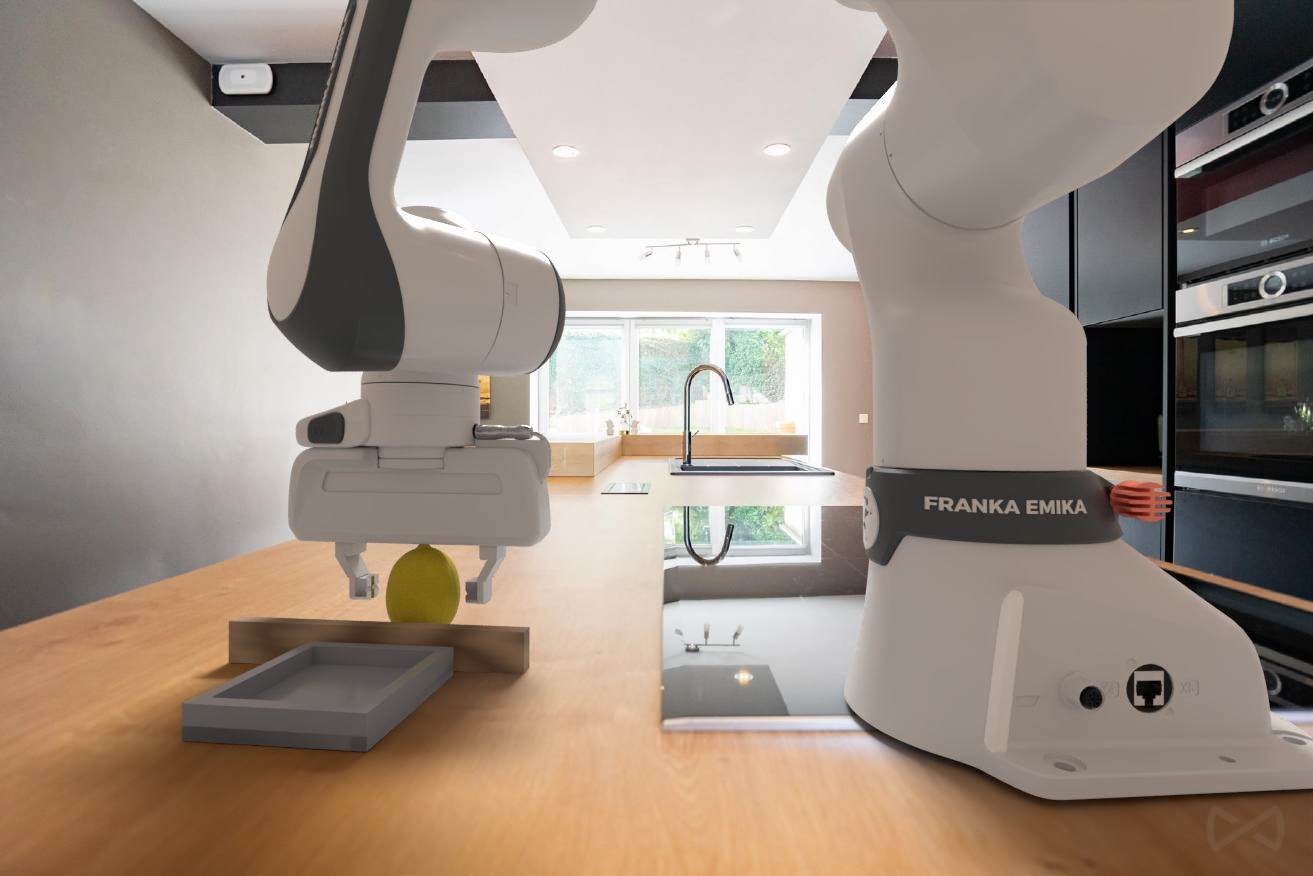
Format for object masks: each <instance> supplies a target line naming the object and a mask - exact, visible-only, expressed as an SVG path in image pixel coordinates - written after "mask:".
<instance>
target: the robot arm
mask: <svg viewBox="0 0 1313 876" xmlns="http://www.w3.org/2000/svg"><path fill="white" fill-rule="evenodd" d="M834 1H835V2H837V3H838V4H840V5H841V6H843V7H846V8H849V9H852V10H856V11H861V12H862V11H863V12H867V13H876V14H877V16H878V17H879V18H880V19H881V22H882V23H883V25H884V26H885V27H886V29H887V31H888V33H889V35H890V38H891V40H892V42H893V45H894V48H895V52H896V55H897V64H898V65H897V66H898V68H897V79H896V81H895V82H894V84H893V85H892V86H891V87H890V88H889V89H888V90H887V92H885V94H883V96H882V97H881V98H880V99H879V100H878V101H877V102H876V104H875V105H874V106H872V108H871V109H870V111H868V113H867V114H865V116H864V117H863V118H862V120H860V121H859V123H857V125H856V126H855V128H854V129H853V131H852V132H851V133H850V135H849V137H848V138H847V141H846V143H845V145H844V147H843V149H842V150H841V152H840V155H839V157H838V159H837V162H836V164H835V165H834V169H833V171H832V173H831V176H830V179H829V181H828V184H827V188H826V189H827V190H826V195H825V196H826V197H825V198H826V199H825V201H826V203H825V205H826V212H827V213H826V214H827V218H828V221H829V225H830V227H831V230H832V232H833V233H834V235H835V237H836V238H837V240H838V242H839V243H840V244H841V245H842V247H844V248H845V249H846V250H847V251H848V252H849V253H850V254H851V256H852V259H853V262H854V266H855V270H856V274H857V278H858V282H859V285H860V289H861V294H862V298H863V302H864V307H865V310H866V315H867V321H868V326H869V327H868V328H869V333H870V343H871V344H870V345H871V357H872V358H871V359H872V362H871V364H872V366H871V367H872V369H871V370H872V372H871V373H872V374H871V375H872V465H868V467H867V468H866V469H865V484H864V487H863V490H862V493H863V494H862V495H863V496H862V541H863V547H864V549H865V550H864V551H865V554H866V555H865V556H866V557H867V558H868V570H867V580H866V589H865V596H864V597H865V598H864V604H863V612H862V617H861V622H860V628H859V634H858V637H857V638H858V640H857V642H856V643H857V644H856V647H855V651H854V656H853V658H852V659H853V660H852V662H851V666H850V670H849V674H848V676H847V679H846V682H845V684H844V689H843V695H844V699H845V701H846V703H847V704H848V706H849V707H850V708H851V710H852V712H855V714H856V715H857V716H859V717H860V718H861V719H862V720H863V721H865V722H866V723H868V724H869V725H871V726H872V727H874V728H875V729H877V730H879V731H880V732H882V733H884V734H886V735H888V736H890V737H892V738H894V739H896V740H898V741H900V742H903V743H905V744H907V745H910V746H913V747H915V748H918V749H920V750H923V751H925V752H929V753H932V754H934V755H938V756H941V757H944V758H947V759H949V760H954V761H957V762H960V763H962V764H966V765H969V766H972V767H974V768H976V769H978V770H981V771H983V772H984V773H986V774H988V775H990V776H991V777H994V778H996V779H998V780H999V781H1001V782H1003V783H1006V784H1007V785H1010V786H1012V787H1013V788H1016V789H1018V790H1020V791H1022V792H1025V793H1027V794H1030V795H1031V796H1032V795H1033V796H1035V797H1038V798H1043V799H1047V800H1056V801H1066V800H1067V801H1070V800H1088V799H1089V800H1090V799H1091V800H1092V799H1115V798H1133V797H1134V798H1136V797H1155V796H1159V797H1160V796H1175V795H1176V796H1177V795H1197V794H1198V795H1199V794H1219V793H1220V794H1221V793H1222V794H1224V793H1239V792H1240V793H1241V792H1242V793H1243V792H1244V793H1245V792H1260V791H1261V792H1262V791H1263V792H1264V791H1282V790H1302V789H1303V790H1306V789H1307V790H1308V789H1313V736H1312V735H1310V734H1309V733H1307V732H1306V731H1305V730H1303V729H1301V728H1300V727H1298V726H1297V725H1295V724H1293V723H1292V722H1290V721H1289V720H1287V719H1285V718H1283V716H1282V717H1281V716H1280V715H1278V714H1276V713H1275V712H1273V711H1271V709H1270V708H1271V707H1270V702H1269V694H1268V688H1267V684H1266V679H1265V674H1264V671H1263V666H1262V664H1261V660H1260V657H1259V654H1258V652H1257V650H1256V647H1255V645H1254V643H1253V641H1252V640H1251V638H1250V637H1249V636H1248V635H1247V633H1246V632H1245V630H1244V629H1243V628H1242V627H1241V626H1240V625H1238V624H1237V623H1236V622H1235V621H1234V620H1233V619H1232V618H1230V617H1229V616H1227V615H1226V614H1225V613H1223V612H1222V611H1221V610H1219V609H1217V608H1216V607H1215V606H1213V605H1212V604H1211V603H1209V602H1207V601H1206V600H1205V599H1204V598H1203V597H1202V596H1199V595H1198V594H1197V593H1195V592H1194V591H1192V590H1191V589H1189V588H1188V587H1187V586H1186V585H1185V584H1183V583H1182V582H1180V581H1178V580H1177V579H1176V578H1175V577H1173V576H1172V575H1170V574H1169V573H1168V572H1166V571H1164V570H1163V569H1162V568H1160V567H1159V566H1158V565H1156V564H1155V563H1154V562H1153V561H1152V560H1150V559H1149V558H1147V557H1146V556H1145V555H1143V554H1141V553H1140V552H1139V551H1138V550H1136V549H1135V548H1134V547H1133V546H1131V545H1130V544H1128V543H1127V542H1125V541H1123V540H1122V539H1121V537H1123V536H1124V531H1123V529H1122V527H1121V525H1120V522H1119V518H1120V517H1119V516H1121V517H1123V518H1128V519H1137V520H1140V521H1142V522H1147V523H1154V522H1158V521H1159V522H1160V521H1162V520H1163V519H1165V518H1166V516H1165V515H1158V514H1155V513H1170V512H1171V509H1172V508H1170V507H1169V508H1168V507H1161V506H1156V505H1173V500H1168V499H1160V498H1156V497H1171V496H1172V495H1171V493H1170V492H1169V491H1168V492H1167V491H1158V490H1157V491H1156V490H1155V489H1166V487H1165V486H1164V485H1163V484H1160V483H1157V482H1153V481H1137V480H1131V479H1128V480H1123V481H1121V482H1119V483H1117V484H1114V483H1112V482H1111V481H1109V480H1108V479H1106V478H1105V477H1103V476H1101V475H1099V474H1097V473H1095V472H1093V471H1092V470H1090V469H1087V465H1088V464H1087V462H1088V461H1087V459H1088V458H1087V453H1088V452H1087V451H1088V450H1087V445H1088V443H1087V441H1088V438H1087V435H1088V433H1087V432H1088V431H1087V430H1088V429H1087V427H1088V424H1087V421H1088V420H1087V419H1088V418H1087V417H1088V415H1087V413H1088V411H1087V409H1088V403H1087V401H1088V399H1087V397H1088V395H1087V391H1088V388H1087V385H1088V384H1087V383H1088V381H1087V380H1088V379H1087V377H1088V376H1087V375H1088V372H1087V369H1088V368H1087V365H1088V364H1087V361H1088V360H1087V359H1088V358H1087V345H1088V342H1087V336H1086V333H1085V330H1084V327H1083V325H1082V324H1081V322H1080V320H1079V319H1078V317H1077V316H1076V315H1075V313H1073V312H1072V311H1071V310H1070V309H1069V308H1067V307H1066V306H1065V305H1063V304H1062V303H1060V302H1058V301H1056V300H1054V299H1052V298H1049V297H1048V296H1045V295H1043V294H1042V293H1041V291H1040V290H1039V289H1038V287H1037V284H1036V282H1035V281H1034V279H1033V277H1032V274H1031V272H1030V268H1029V266H1028V263H1027V258H1026V255H1025V251H1024V245H1023V239H1022V232H1023V226H1024V222H1025V220H1026V218H1027V215H1028V214H1029V213H1031V212H1033V211H1035V210H1037V209H1039V208H1041V207H1043V206H1045V205H1047V204H1049V203H1052V202H1054V201H1055V200H1057V199H1060V198H1062V197H1063V196H1065V195H1068V194H1069V193H1071V192H1073V191H1075V190H1077V189H1079V188H1082V187H1084V186H1086V185H1087V184H1090V183H1092V182H1093V181H1096V180H1098V179H1100V178H1102V177H1103V176H1105V175H1107V174H1108V173H1111V172H1112V171H1114V170H1115V169H1116V168H1118V167H1120V165H1122V164H1123V163H1124V162H1125V161H1127V160H1128V159H1129V158H1130V157H1132V156H1133V155H1134V154H1135V153H1137V152H1138V151H1139V150H1141V149H1142V148H1144V146H1147V144H1149V143H1150V142H1151V141H1152V140H1154V139H1156V137H1157V136H1159V135H1160V134H1161V133H1163V131H1165V130H1166V129H1167V128H1168V127H1169V126H1171V125H1172V124H1173V123H1174V122H1176V121H1177V120H1178V119H1179V118H1180V117H1182V116H1183V115H1184V114H1185V113H1186V112H1187V111H1189V110H1190V109H1191V108H1192V107H1194V106H1195V105H1196V104H1197V103H1198V102H1199V101H1200V100H1201V99H1202V98H1203V97H1204V96H1205V95H1206V93H1207V92H1208V91H1209V90H1210V88H1211V87H1213V84H1214V83H1215V81H1216V80H1217V77H1218V76H1219V74H1220V72H1221V70H1222V68H1223V66H1224V63H1225V61H1226V59H1227V54H1228V52H1229V47H1230V44H1231V39H1232V34H1233V30H1234V29H1233V28H1234V20H1235V16H1234V15H1235V6H1234V5H1235V0H834ZM597 3H598V0H348V4H347V6H346V9H345V12H344V13H345V14H344V16H343V19H342V23H341V27H340V31H339V33H338V37H337V40H336V43H335V47H334V51H333V54H332V58H331V62H330V65H329V69H328V74H327V76H326V81H325V84H324V87H323V92H322V96H321V99H320V102H319V106H318V110H317V113H316V117H315V121H314V125H313V129H312V132H311V136H310V139H309V144H308V147H307V150H306V153H305V158H304V161H303V165H302V168H301V171H300V174H299V178H298V181H297V184H296V185H295V189H294V192H293V194H292V197H291V200H290V201H289V205H288V207H287V211H286V213H285V216H284V218H283V221H282V224H281V225H280V230H279V232H278V234H277V237H276V239H275V242H274V244H273V247H272V251H271V253H270V256H269V261H268V265H267V271H266V297H267V298H266V300H267V301H266V302H267V312H268V314H269V318H270V320H271V321H272V323H273V325H274V326H275V327H276V328H277V329H278V330H279V331H280V333H281V334H282V335H283V336H284V337H285V338H286V339H287V340H288V342H290V344H291V345H292V346H294V347H295V348H296V349H297V350H298V351H299V352H300V353H301V354H303V355H304V357H306V358H308V359H309V360H310V361H312V362H313V363H314V364H316V365H317V366H318V367H320V368H322V369H323V370H325V371H327V372H330V373H333V372H334V373H341V372H343V373H345V372H346V373H348V372H350V373H351V372H352V373H353V372H355V373H357V372H359V373H360V372H362V374H361V379H360V398H358V399H354V400H353V401H350V402H346V403H344V404H342V405H339V406H336V407H333V408H331V409H326V410H324V411H320V412H318V413H314V414H312V415H309V416H306V417H303V418H301V419H299V420H298V421H297V423H296V424H295V440H296V442H297V444H298V445H299V446H301V447H305V448H306V449H304V450H302V451H300V452H299V453H298V455H297V456H296V458H295V460H294V461H293V463H292V467H291V471H290V477H289V487H288V501H287V521H288V523H287V524H288V527H289V530H290V531H291V532H292V534H293V536H294V537H295V538H296V539H297V540H298V541H299V542H311V543H312V542H314V543H319V542H320V543H334V544H335V545H334V556H335V558H336V560H337V562H338V564H339V565H340V567H341V569H342V571H343V572H344V574H345V576H346V577H347V579H348V581H349V582H348V583H349V584H348V589H349V590H348V592H349V593H348V594H349V596H348V597H349V598H350V600H352V601H353V600H354V601H358V600H359V601H371V600H372V599H375V598H377V596H378V594H379V586H378V585H379V583H380V578H379V577H380V574H379V573H370V571H369V569H368V566H367V565H366V563H365V561H364V558H363V556H362V553H366V552H367V547H368V546H367V545H368V544H390V545H391V544H393V545H394V544H397V545H419V544H429V545H430V546H432V545H434V546H438V545H439V546H440V545H442V546H475V547H477V546H478V548H479V553H478V554H479V560H480V561H485V563H484V565H483V567H482V569H481V571H480V572H479V575H478V576H474V577H472V578H471V579H468V580H466V581H465V585H464V586H465V588H464V589H465V592H466V595H465V597H464V598H465V603H466V604H468V605H469V604H472V605H473V604H474V605H486V604H487V603H489V602H490V601H491V600H492V593H493V592H492V591H493V578H495V575H496V574H497V572H498V570H499V568H500V566H501V565H502V563H503V562H504V560H505V559H506V556H507V547H511V548H515V547H517V548H518V547H519V548H530V547H533V546H535V545H537V544H539V543H541V542H543V540H544V539H545V538H546V536H548V534H549V533H550V531H551V526H552V522H551V521H552V518H551V507H550V506H551V505H550V495H549V487H548V481H547V478H548V477H549V475H550V473H551V469H552V447H551V443H550V442H549V440H548V438H547V437H546V436H545V435H544V434H543V433H541V432H539V431H537V430H534V428H533V427H532V426H530V425H526V424H525V425H524V424H517V425H513V426H512V425H511V426H506V425H497V424H481V384H480V379H479V376H482V377H483V376H485V377H499V378H511V377H518V376H523V375H530V374H532V373H535V372H536V371H537V370H539V369H541V367H542V366H544V365H545V364H546V363H547V362H548V361H549V360H550V359H551V357H553V354H554V352H556V350H557V348H558V346H559V344H560V341H561V339H562V336H563V333H564V329H565V325H566V324H565V322H566V314H567V311H566V310H567V307H566V296H565V295H566V294H565V289H564V286H563V282H562V279H561V276H560V275H559V271H558V269H557V267H556V266H555V264H554V263H553V262H552V260H551V259H550V257H548V255H546V254H545V253H544V252H543V251H540V250H536V249H535V248H533V247H531V246H529V245H527V244H523V243H521V242H519V241H515V240H511V239H507V238H504V237H500V236H497V235H494V234H489V233H487V232H482V231H479V230H476V229H475V228H474V227H473V225H472V224H471V223H470V222H469V221H468V220H467V219H465V218H464V217H462V216H461V215H459V214H457V213H455V212H453V211H451V210H448V209H445V208H440V207H434V206H428V205H411V206H410V205H409V206H403V207H400V206H399V204H398V202H397V200H396V197H395V191H394V190H395V184H396V181H397V177H398V173H399V170H400V166H401V163H402V158H403V155H404V151H405V147H406V143H407V140H408V135H409V133H410V129H411V124H412V121H413V116H414V114H415V109H416V107H417V103H418V99H419V95H420V92H421V87H422V84H423V81H424V77H425V74H426V72H427V68H428V67H429V66H430V63H431V62H432V59H434V58H435V56H436V55H437V54H438V53H443V52H475V53H490V54H491V53H495V54H511V53H512V54H513V53H522V52H529V51H534V50H538V49H543V48H546V47H549V46H551V45H555V44H557V43H559V42H561V41H564V40H565V39H567V38H568V37H569V36H571V35H572V34H573V33H575V32H576V31H577V30H578V29H579V28H580V27H581V26H582V24H584V23H585V21H587V20H588V18H589V16H590V15H591V14H592V12H593V11H594V10H595V8H596V6H597ZM533 437H536V438H538V439H533Z"/></svg>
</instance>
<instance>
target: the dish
mask: <svg viewBox="0 0 1313 876" xmlns="http://www.w3.org/2000/svg"><path fill="white" fill-rule="evenodd" d="M453 656H454V647H437V646H413V645H389V644H364V643H340V642H316V641H309V642H307V643H305V644H303V645H301V646H299V647H297V648H295V649H293V650H291V651H289V652H287V653H285V654H283V655H281V656H279V657H277V658H274V659H272V660H270V661H268V662H266V663H264V664H259V665H258V666H256V667H254V668H252V669H250V670H248V671H246V672H244V673H242V674H240V675H237V676H236V677H233V678H231V679H229V680H227V681H226V682H223V683H221V684H219V685H217V686H215V687H213V688H211V689H209V690H207V691H205V692H203V693H200V694H198V695H197V696H194V697H192V698H190V699H188V700H186V701H184V702H183V703H181V718H182V719H181V741H183V742H196V743H197V742H199V743H213V744H214V743H216V744H231V745H247V746H265V747H277V748H279V747H281V748H297V749H314V750H328V751H330V750H331V751H344V752H345V751H346V752H347V751H348V752H361V753H367V752H368V751H369V750H371V749H372V748H373V747H374V746H375V745H377V743H378V742H380V741H381V740H382V739H383V738H385V737H386V736H387V735H388V734H389V733H390V732H391V731H393V730H394V729H395V728H396V727H397V726H398V725H399V724H401V723H402V722H403V721H404V720H405V719H406V718H408V717H409V716H410V715H411V714H412V713H414V711H415V710H417V709H418V708H419V707H420V706H421V705H422V704H423V703H424V702H425V701H426V700H427V699H428V698H430V697H431V696H432V695H433V694H434V693H436V692H437V690H439V688H441V686H443V685H444V684H445V683H446V682H447V681H448V680H449V679H451V678H452V677H453V676H454V671H453Z"/></svg>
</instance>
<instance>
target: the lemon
mask: <svg viewBox="0 0 1313 876" xmlns="http://www.w3.org/2000/svg"><path fill="white" fill-rule="evenodd" d="M385 590H386V591H385V607H386V613H387V616H388V619H389V620H390V621H389V622H407V623H434V624H452V622H453V621H454V619H455V617H456V615H457V612H458V609H459V605H460V600H461V582H460V577H459V573H458V569H457V567H456V565H455V563H454V562H453V559H452V558H450V557H449V555H448V554H447V553H445V552H444V551H442V550H440V549H438V548H437V547H432V545H429V544H417V546H416V547H415V548H413V549H410V550H409V551H407V552H406V553H404V554H403V555H402V556H400V557H399V558H398V559H397V560H396V561H395V563H394V564H393V565H392V568H391V569H390V572H389V576H388V579H387V584H386V588H385Z"/></svg>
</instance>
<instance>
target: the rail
mask: <svg viewBox="0 0 1313 876" xmlns="http://www.w3.org/2000/svg"><path fill="white" fill-rule="evenodd" d="M530 631H531V629H530V626H510V625H509V626H507V625H485V624H484V625H483V624H458V623H457V624H455V623H450V624H434V623H407V622H391V621H380V620H378V621H376V620H374V621H372V620H354V619H353V620H351V619H349V620H348V619H324V618H323V619H321V618H319V619H318V618H295V617H272V616H271V617H270V616H267V617H266V616H265V617H264V616H246V615H245V616H243V615H241V616H238V617H236V618H234V619H231V620H229V621H228V663H232V664H250V665H251V664H253V665H255V664H256V665H262V664H264V663H266V662H268V661H270V660H272V659H274V658H277V657H279V656H281V655H283V654H285V653H287V652H289V651H291V650H293V649H295V648H297V647H299V646H301V645H303V644H305V643H307V642H309V641H316V642H340V643H364V644H389V645H413V646H437V647H454V656H453V672H469V673H472V672H473V673H496V674H499V673H500V674H525V673H526V672H527V671H528V669H530V637H531V635H530V633H531V632H530Z"/></svg>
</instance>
